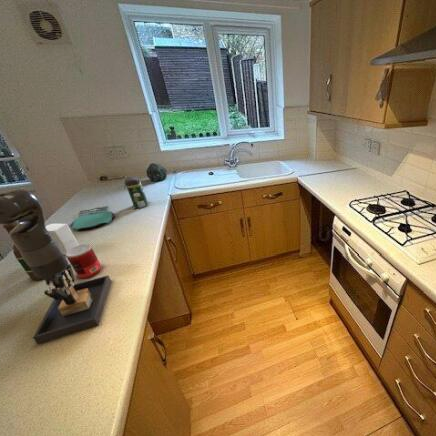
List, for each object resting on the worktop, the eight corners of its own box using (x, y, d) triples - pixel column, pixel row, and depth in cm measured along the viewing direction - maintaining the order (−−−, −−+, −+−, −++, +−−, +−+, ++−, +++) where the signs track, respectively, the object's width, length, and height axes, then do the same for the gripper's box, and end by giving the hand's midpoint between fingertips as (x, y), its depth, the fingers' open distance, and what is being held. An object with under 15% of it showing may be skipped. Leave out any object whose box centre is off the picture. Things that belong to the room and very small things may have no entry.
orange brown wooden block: (73, 306, 81) (69, 299, 79) (77, 298, 84) (73, 291, 82) (88, 302, 82) (84, 295, 80) (91, 294, 85) (87, 288, 84)
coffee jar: (134, 204, 155) (124, 176, 146) (148, 201, 158) (138, 174, 149) (133, 209, 147) (122, 181, 138) (148, 206, 150) (138, 178, 142)
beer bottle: (35, 271, 98) (-1, 220, 86) (59, 265, 101) (27, 215, 89) (27, 283, 92) (-13, 230, 80) (53, 276, 95) (18, 224, 83)
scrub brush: (63, 316, 77) (49, 297, 73) (67, 307, 80) (54, 288, 76) (89, 308, 79) (77, 289, 75) (92, 300, 82) (81, 281, 78)
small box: (81, 247, 112) (67, 223, 106) (68, 255, 107) (54, 231, 101) (65, 246, 113) (51, 223, 107) (52, 255, 108) (36, 230, 101)
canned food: (104, 263, 101) (93, 242, 96) (98, 275, 94) (86, 253, 89) (83, 268, 99) (70, 246, 93) (75, 281, 92) (61, 258, 87)
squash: (167, 168, 205) (150, 158, 194) (172, 173, 195) (155, 162, 184) (157, 182, 204) (139, 172, 192) (162, 187, 194) (144, 177, 183)
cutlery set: (69, 235, 122) (67, 231, 121) (76, 213, 145) (75, 210, 144) (115, 224, 132) (113, 220, 130) (115, 205, 154) (114, 202, 153)
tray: (38, 344, 69) (32, 338, 68) (64, 294, 86) (60, 287, 85) (98, 325, 74) (94, 318, 73) (111, 281, 92) (108, 275, 90)
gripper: (39, 248, 74) (66, 289, 82) (15, 276, 62) (49, 320, 71) (69, 242, 76) (92, 282, 85) (51, 267, 65) (80, 311, 73)
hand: (72, 299), depth 78 cm, fingers closed on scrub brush, 2 cm apart
